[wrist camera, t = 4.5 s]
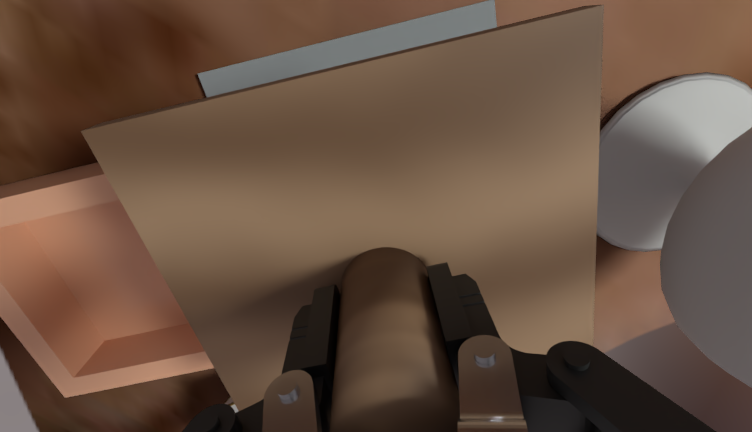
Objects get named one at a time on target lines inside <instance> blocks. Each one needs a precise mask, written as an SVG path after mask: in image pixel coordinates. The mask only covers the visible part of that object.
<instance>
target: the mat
mask: <svg viewBox="0 0 752 432" xmlns="http://www.w3.org/2000/svg"><path fill="white" fill-rule="evenodd" d="M496 27H497V24H496V13H495V1H494V0H489V1H485V2H481V3H477V4H473V5H469V6H465V7H461V8H457V9H453V10H449V11H445V12H441V13H437V14H433V15H429V16H425V17H421V18H417V19H413V20H409V21H405V22H401V23H397V24H393V25H389V26H385V27H381V28H378V29H374V30H370V31H366V32H362V33H358V34H354V35H350V36H346V37H342V38H338V39H334V40H330V41H326V42H322V43H318V44H314V45H310V46H306V47H302V48H298V49H294V50H290V51H286V52H282V53H278V54H274V55H270V56H266V57H262V58H258V59H254V60H250V61H246V62H242V63H238V64H234V65H230V66H226V67H223V68H219V69H215V70H211V71H207V72H203V73H199V74H198V76H199V79H200V81H201V84H202V86H203V89H204V91H205V94H206V96H207V97H211V96H215V95H219V94H223V93H227V92H231V91H236V90H240V89H244V88H248V87H252V86H256V85H260V84H265V83H269V82H273V81H277V80H281V79H285V78H289V77H293V76H298V75H302V74H306V73H310V72H314V71H318V70H322V69H326V68H331V67H335V66H339V65H343V64H347V63H351V62H355V61H359V60H364V59H368V58H372V57H376V56H380V55H384V54H388V53H393V52H397V51H401V50H405V49H409V48H413V47H417V46H421V45H426V44H430V43H434V42H438V41H442V40H446V39H450V38H454V37H459V36H463V35H467V34H471V33H475V32H479V31H483V30H487V29H492V28H496Z"/></svg>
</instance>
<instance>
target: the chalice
mask: <svg viewBox="0 0 752 432" xmlns="http://www.w3.org/2000/svg"><path fill="white" fill-rule="evenodd" d="M597 235H598V236H599V237H601V238H602V239H604V240H605V241H607V242H608V243H610V244H611V245H614V246H617V247H620V248H623V249H626V250H632V251H642V252H647V251H657V250H661V260H660V271H661V287H662V291H663V294H664V296H665V299H666V301H667V304H668V306H669V309H670V311H671V313H672V315H673V317H674V320H675V322H676V324H677V326H678V327H679V328H680V329H681V330H682V331H683V332H684V334H685V335H686V336H687V337H688V338H689V339H690V340H691V341H692V342H693V343H694V344H695V345H696V346H697V347H698V348H699V349H700V350H701V351H702V352H703V353H704V354H705V355H706V356H707V357H708V358H709V359H710V360H711V361H713V362H714V363H716V364H717V365H718V366H720V367H721V368H723V369H724V370H725V371H727V372H728V373H729V374H731V375H733V376H734V377H736V378H738V379H739V380H741V381H742V382H744V383H746V384H747V385H749V386H750V387H752V89H751V88H750V87H749V86H748V85H747V84H746V83H744V82H742V81H739V80H737V79H735V78H733V77H731V76H729V75H722V74H715V73H708V72H706V73H696V74H687V75H682V76H679V77H676V78H673V79H669V80H666V81H663V82H660V83H658V84H657V85H655V86H653V87H651V88H649V89H647V90H646V91H644V92H642V93H640V94H638V95H637V96H636V97H634V98H633V99H632V100H631V101H629V102H628V103H627V104H626V105H625V106H623V107H622V108H621V109H620V110H618V111H617V112H616V113H615V115H614V116H613V117H612V118H611V119H610V120H609V122H608V123H607V124H606V125H605V126H604V127H603V128H602V130H601V131H600V141H599V172H598V204H597Z"/></svg>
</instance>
